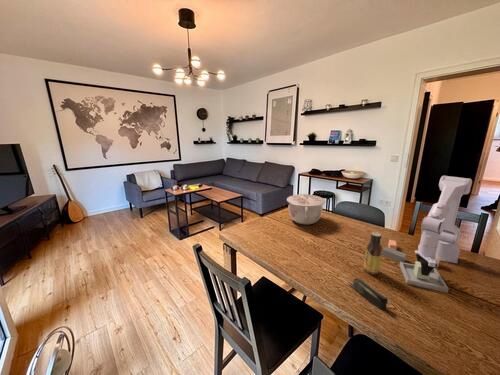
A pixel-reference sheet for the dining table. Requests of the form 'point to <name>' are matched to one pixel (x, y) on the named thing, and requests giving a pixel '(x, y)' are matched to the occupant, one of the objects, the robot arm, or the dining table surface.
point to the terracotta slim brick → (392, 244)
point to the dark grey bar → (370, 293)
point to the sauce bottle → (373, 254)
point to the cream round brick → (437, 259)
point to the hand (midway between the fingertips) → (422, 271)
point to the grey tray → (433, 282)
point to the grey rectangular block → (394, 254)
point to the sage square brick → (419, 271)
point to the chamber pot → (305, 208)
